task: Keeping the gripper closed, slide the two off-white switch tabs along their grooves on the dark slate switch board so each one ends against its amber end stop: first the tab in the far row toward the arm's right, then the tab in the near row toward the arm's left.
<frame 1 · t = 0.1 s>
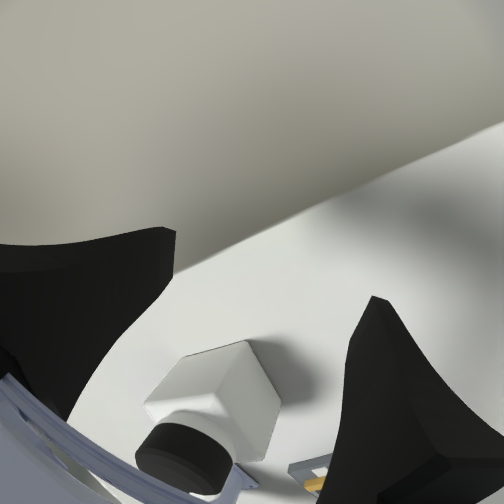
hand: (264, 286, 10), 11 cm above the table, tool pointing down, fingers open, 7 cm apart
medicine bottle: (231, 379, 25), on the table
switch board: (385, 485, 25), on the table
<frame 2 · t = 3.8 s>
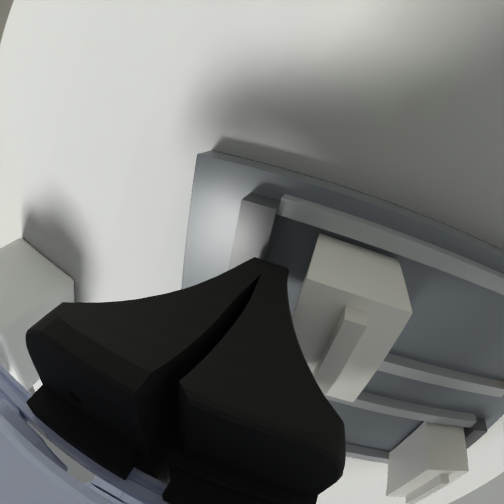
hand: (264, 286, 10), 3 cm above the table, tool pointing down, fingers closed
medicine bottle: (50, 289, 20), on the table
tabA: (426, 466, 11), point 3 cm above the table, slide at 0.0 cm
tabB: (338, 324, 9), point 3 cm above the table, slide at 1.2 cm, touching gripper
switch board: (377, 361, 14), on the table
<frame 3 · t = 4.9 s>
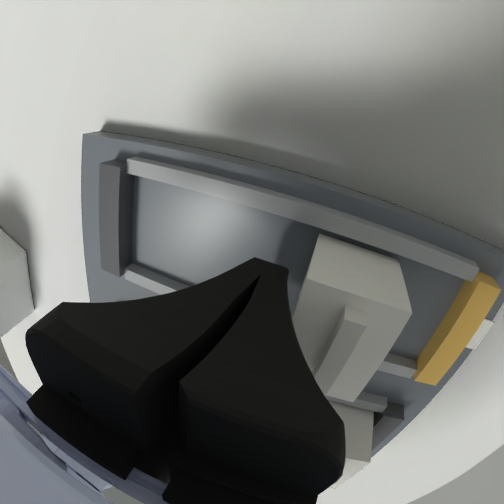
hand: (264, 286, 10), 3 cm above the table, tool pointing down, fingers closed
medicine bottle: (12, 263, 22), on the table
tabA: (327, 451, 13), point 3 cm above the table, slide at 0.0 cm
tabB: (338, 324, 9), point 3 cm above the table, slide at 7.6 cm, touching gripper
switch board: (258, 324, 15), on the table
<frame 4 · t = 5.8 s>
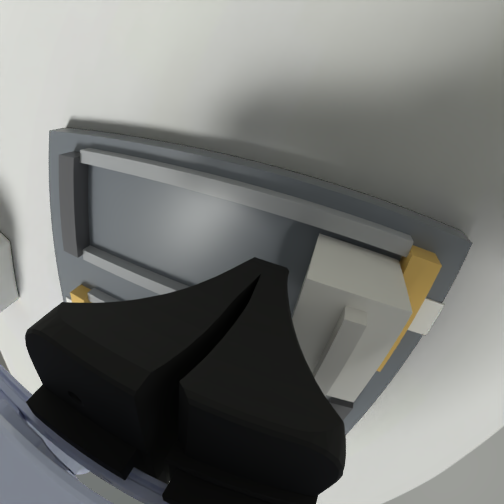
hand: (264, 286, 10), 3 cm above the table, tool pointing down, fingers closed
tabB: (338, 324, 9), point 3 cm above the table, slide at 10.5 cm, touching gripper
switch board: (203, 303, 15), on the table
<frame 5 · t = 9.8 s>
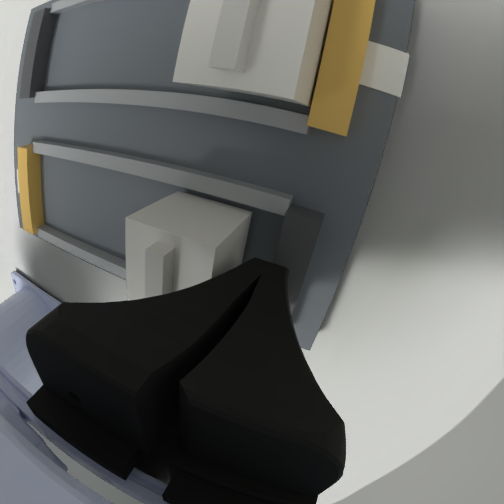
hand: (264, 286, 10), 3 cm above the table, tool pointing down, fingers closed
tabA: (183, 270, 10), point 3 cm above the table, slide at 0.9 cm, touching gripper
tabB: (261, 25, 6), point 3 cm above the table, slide at 10.6 cm
switch board: (139, 126, 12), on the table
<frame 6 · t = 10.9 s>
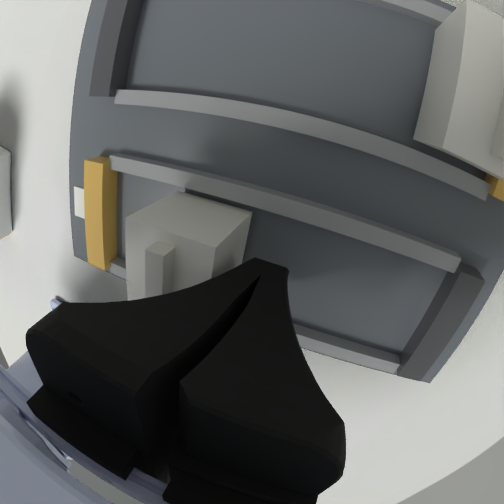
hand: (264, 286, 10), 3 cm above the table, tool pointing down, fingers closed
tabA: (183, 270, 10), point 3 cm above the table, slide at 7.3 cm, touching gripper
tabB: (490, 97, 5), point 3 cm above the table, slide at 10.6 cm
switch board: (276, 152, 11), on the table
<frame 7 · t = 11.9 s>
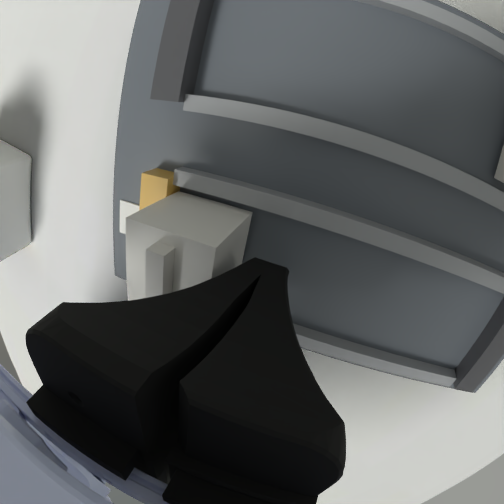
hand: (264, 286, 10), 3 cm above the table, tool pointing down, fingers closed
medicine bottle: (12, 186, 17), on the table
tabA: (183, 270, 10), point 3 cm above the table, slide at 10.6 cm, touching gripper
switch board: (361, 178, 10), on the table
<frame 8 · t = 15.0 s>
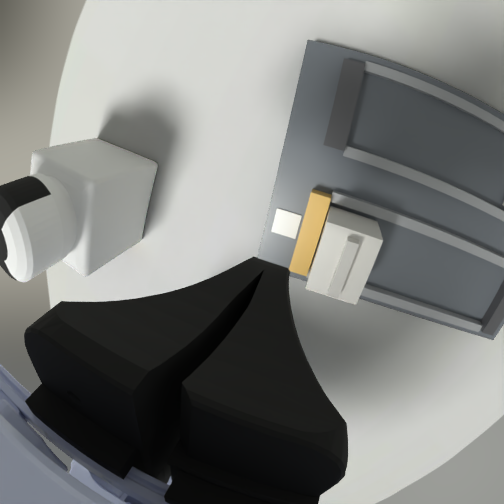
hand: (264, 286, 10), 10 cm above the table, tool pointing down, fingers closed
medicine bottle: (119, 187, 23), on the table
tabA: (343, 255, 16), point 3 cm above the table, slide at 10.6 cm
switch board: (431, 203, 17), on the table
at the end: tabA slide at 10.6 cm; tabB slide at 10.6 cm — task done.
